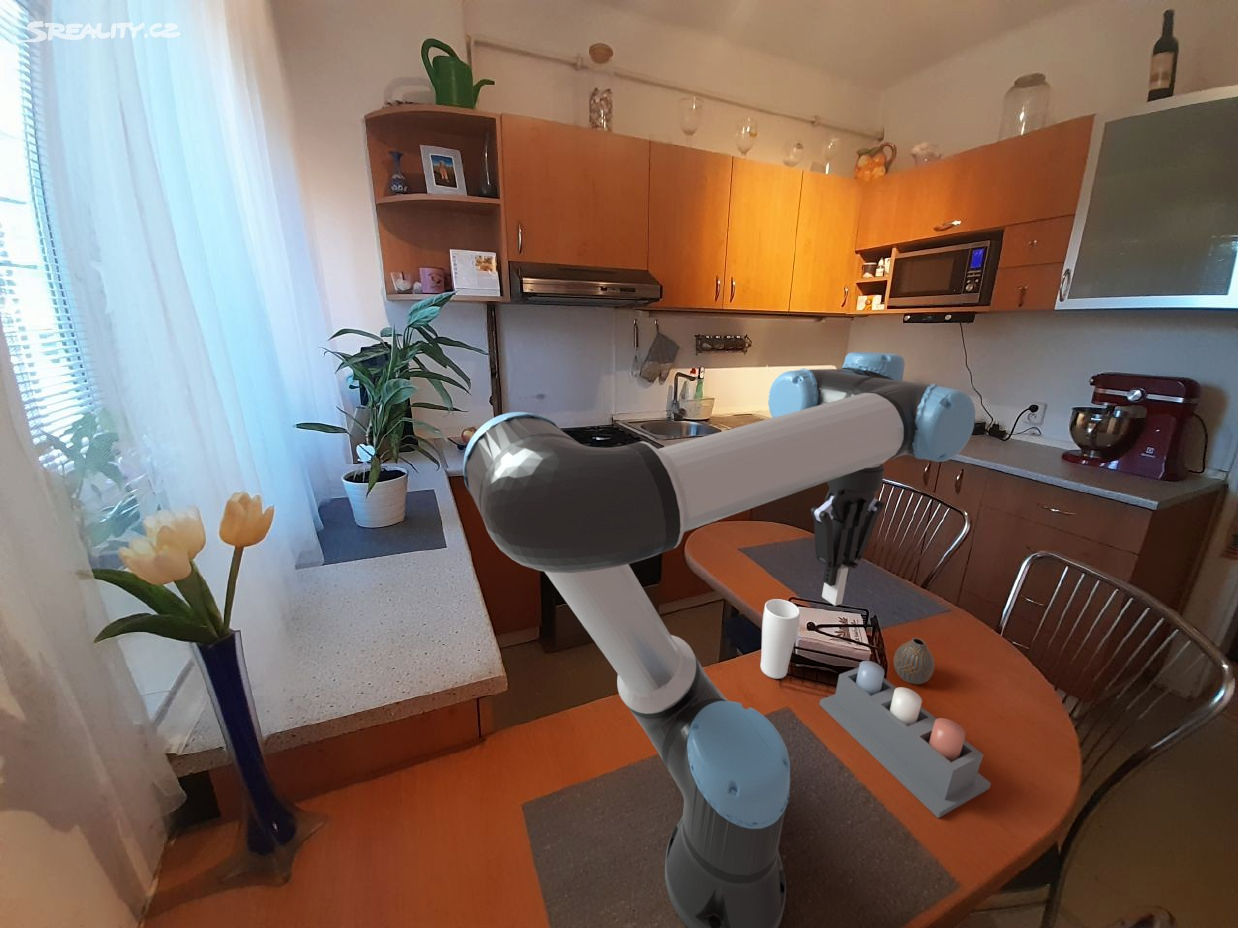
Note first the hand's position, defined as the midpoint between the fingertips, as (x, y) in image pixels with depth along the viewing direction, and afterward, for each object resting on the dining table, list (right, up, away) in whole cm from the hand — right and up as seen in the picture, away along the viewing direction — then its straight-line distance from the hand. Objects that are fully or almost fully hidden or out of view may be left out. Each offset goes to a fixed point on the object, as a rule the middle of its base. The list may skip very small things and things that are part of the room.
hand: (831, 600), depth 77 cm
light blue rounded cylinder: (+11, -21, +11) cm, 26 cm away
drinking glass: (-2, -21, +22) cm, 30 cm away
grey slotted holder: (+14, -26, +6) cm, 30 cm away
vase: (+25, -22, +21) cm, 39 cm away
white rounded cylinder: (+14, -23, +5) cm, 27 cm away
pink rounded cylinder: (+16, -25, -1) cm, 30 cm away
